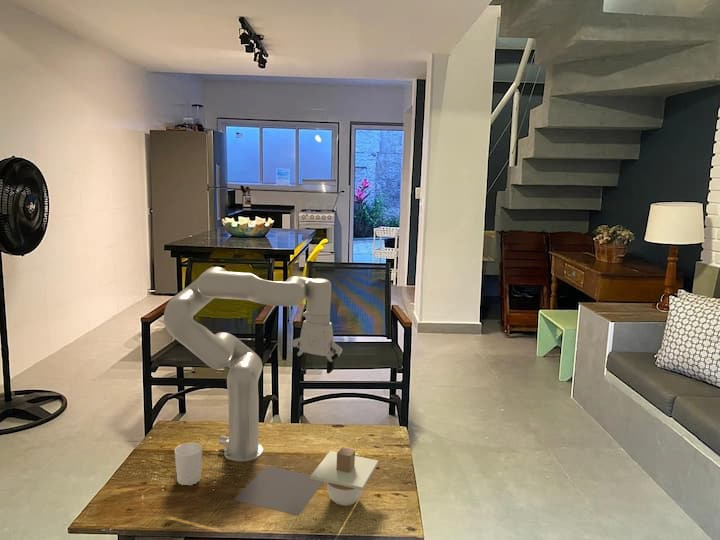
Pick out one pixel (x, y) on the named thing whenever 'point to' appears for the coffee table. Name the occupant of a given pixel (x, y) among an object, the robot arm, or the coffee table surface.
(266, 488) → the mat
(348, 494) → the lidded jar
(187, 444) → the white cup
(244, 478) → the coffee table surface
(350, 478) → the lid sheet
